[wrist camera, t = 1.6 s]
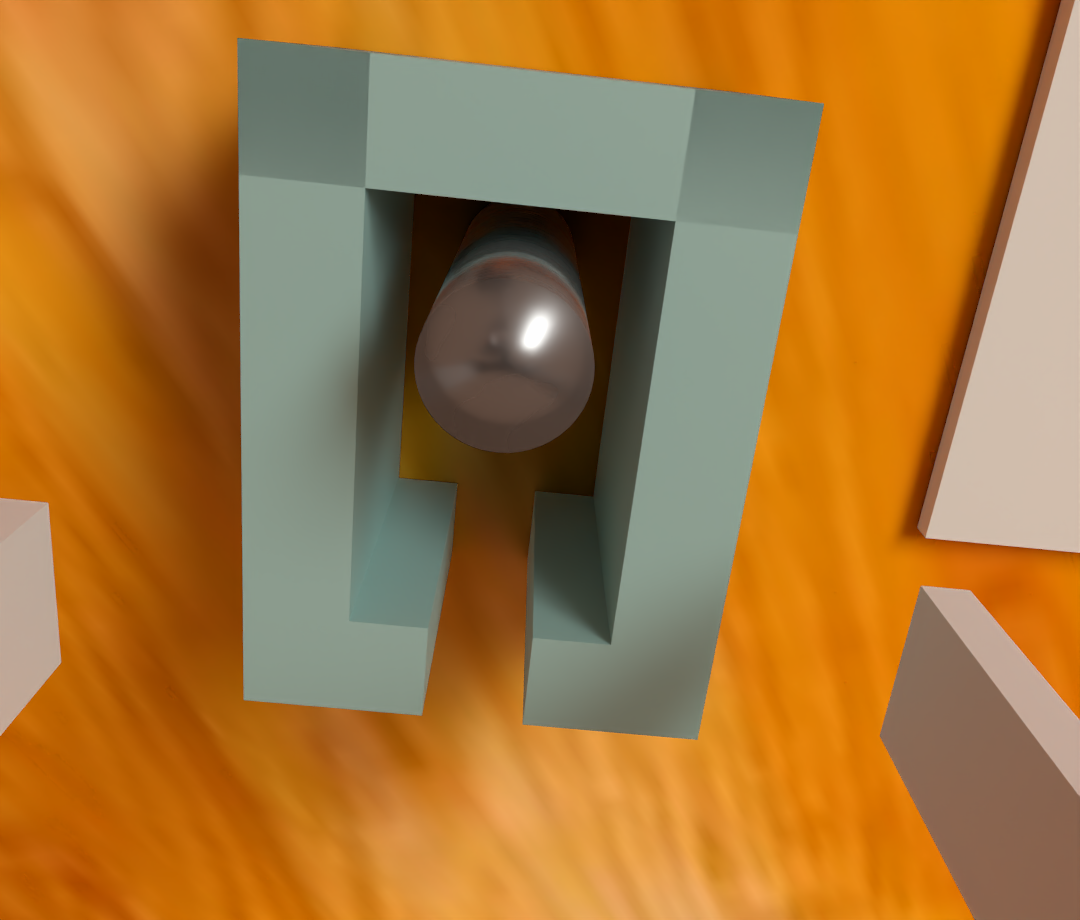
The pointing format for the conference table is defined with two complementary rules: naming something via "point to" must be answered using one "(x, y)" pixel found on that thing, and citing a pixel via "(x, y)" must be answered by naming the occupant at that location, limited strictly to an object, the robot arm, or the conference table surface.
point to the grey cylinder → (508, 334)
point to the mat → (1024, 344)
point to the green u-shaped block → (380, 352)
